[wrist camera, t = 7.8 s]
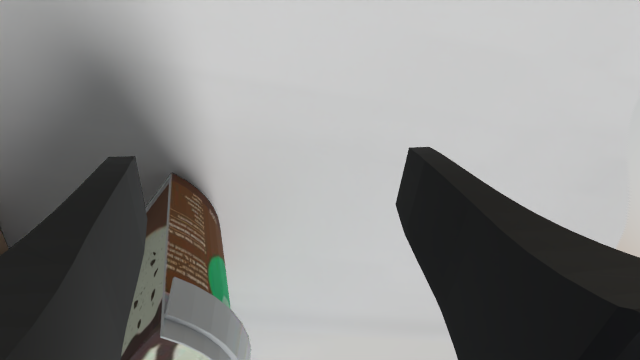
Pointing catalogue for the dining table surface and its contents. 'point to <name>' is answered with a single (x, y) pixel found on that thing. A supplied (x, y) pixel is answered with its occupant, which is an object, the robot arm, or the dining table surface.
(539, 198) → the dining table surface
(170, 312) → the food container
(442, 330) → the dining table surface
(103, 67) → the dining table surface
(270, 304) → the dining table surface
